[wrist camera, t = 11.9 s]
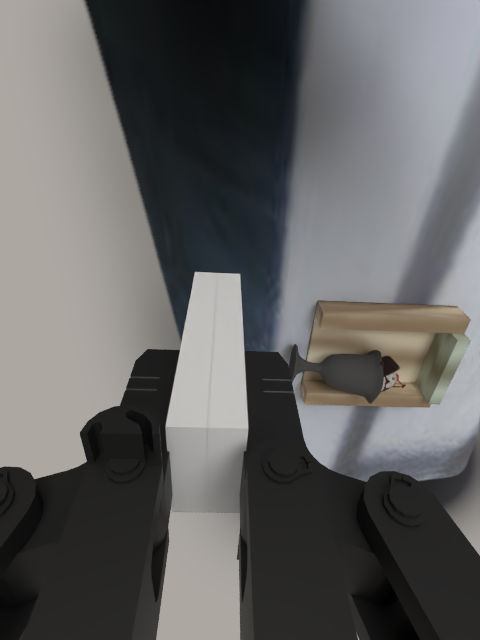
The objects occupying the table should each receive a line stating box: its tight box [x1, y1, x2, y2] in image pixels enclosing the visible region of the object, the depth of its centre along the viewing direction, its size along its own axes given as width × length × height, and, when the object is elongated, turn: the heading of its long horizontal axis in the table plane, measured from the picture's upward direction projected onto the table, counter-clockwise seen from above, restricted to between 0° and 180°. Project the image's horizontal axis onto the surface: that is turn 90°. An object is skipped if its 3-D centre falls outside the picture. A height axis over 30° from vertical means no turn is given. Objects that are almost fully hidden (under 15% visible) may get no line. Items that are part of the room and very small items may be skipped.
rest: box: [301, 301, 471, 407], centre depth 45 cm, size 14×17×4 cm
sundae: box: [289, 344, 406, 404], centre depth 45 cm, size 7×7×15 cm
